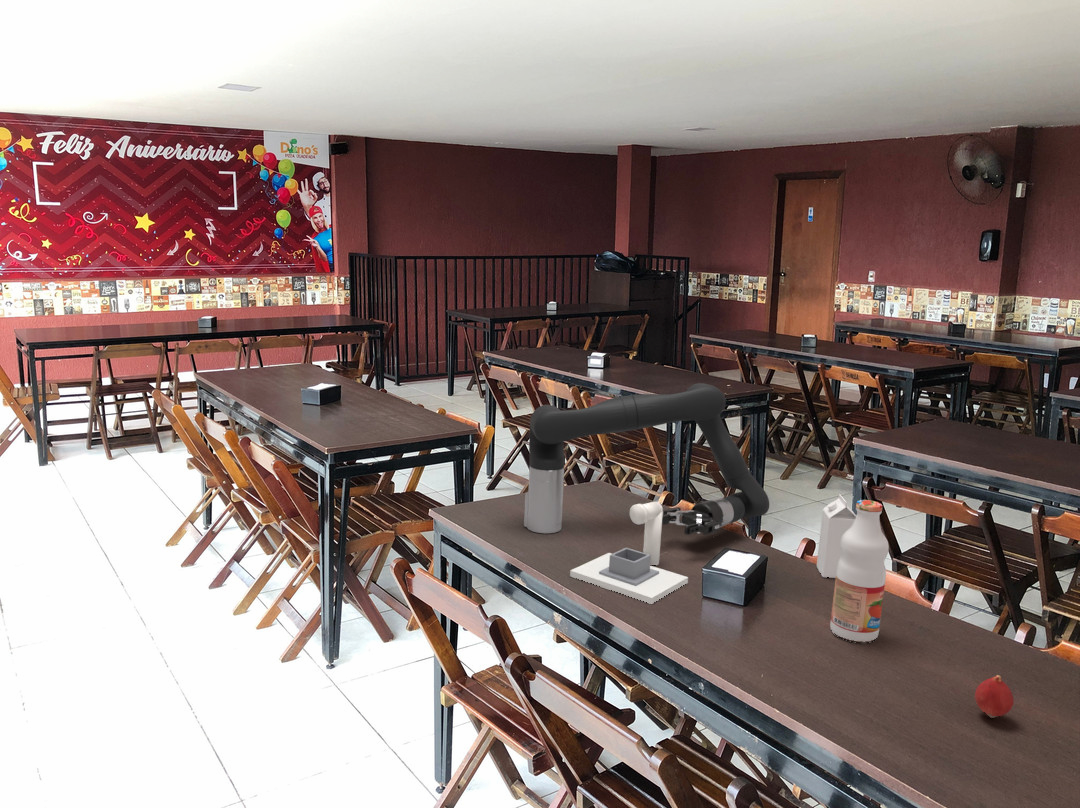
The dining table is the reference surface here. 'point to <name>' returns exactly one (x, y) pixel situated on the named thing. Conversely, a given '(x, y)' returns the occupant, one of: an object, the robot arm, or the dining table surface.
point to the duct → (630, 575)
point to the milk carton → (833, 535)
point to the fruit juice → (860, 576)
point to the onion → (994, 697)
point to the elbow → (649, 527)
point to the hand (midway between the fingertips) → (672, 526)
